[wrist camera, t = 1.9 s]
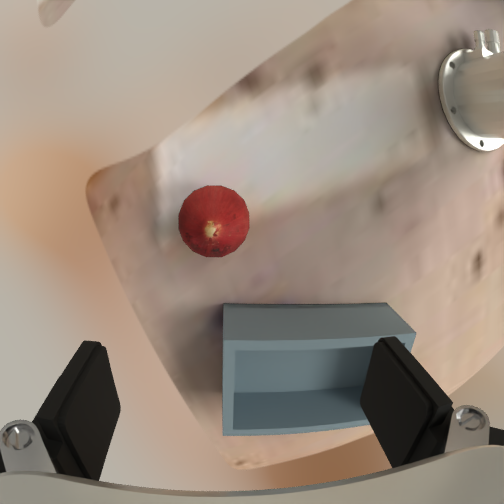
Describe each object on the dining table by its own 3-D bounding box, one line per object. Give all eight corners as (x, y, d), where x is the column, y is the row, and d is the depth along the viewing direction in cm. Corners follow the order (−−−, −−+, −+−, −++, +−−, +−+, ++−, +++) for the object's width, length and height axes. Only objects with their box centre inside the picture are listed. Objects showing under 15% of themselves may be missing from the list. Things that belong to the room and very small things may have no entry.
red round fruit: (246, 244, 31) (252, 273, 23) (185, 244, 30) (172, 273, 23) (247, 182, 29) (254, 191, 21) (183, 182, 29) (168, 191, 21)
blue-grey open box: (223, 303, 32) (223, 340, 26) (386, 302, 34) (416, 332, 27) (222, 393, 36) (222, 435, 29) (364, 385, 37) (384, 421, 31)
